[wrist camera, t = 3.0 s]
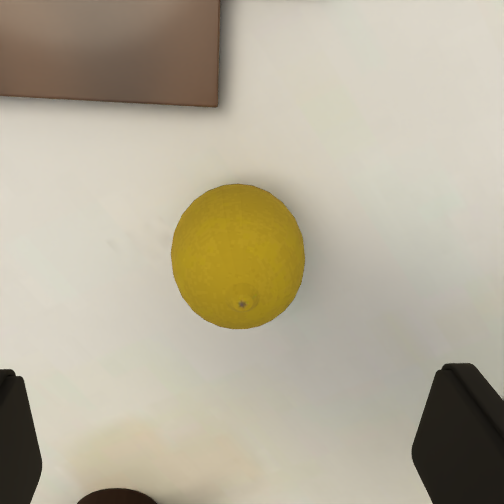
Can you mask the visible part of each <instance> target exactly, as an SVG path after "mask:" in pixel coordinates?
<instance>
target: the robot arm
mask: <svg viewBox="0 0 504 504" xmlns="http://www.w3.org/2000/svg"><path fill="white" fill-rule="evenodd" d="M412 459H413V463H414V465H415V467H416V469H417V471H418V474H419V476H420V478H421V480H422V482H423V484H424V486H425V488H426V490H427V492H428V494H429V496H430V499H431V501H432V503H433V504H504V401H503V400H502V399H501V397H500V396H499V395H498V394H497V393H496V391H495V390H494V389H493V388H492V386H491V385H490V384H489V383H488V381H487V380H486V379H485V378H484V376H483V375H482V374H481V373H480V372H479V370H478V369H477V368H476V367H475V366H474V365H473V364H470V363H449V364H445V365H444V366H443V367H442V369H441V370H438V371H437V372H436V374H435V377H434V380H433V383H432V386H431V389H430V393H429V396H428V399H427V402H426V405H425V408H424V411H423V414H422V417H421V421H420V424H419V427H418V430H417V433H416V436H415V439H414V442H413V445H412ZM41 471H42V458H41V454H40V449H39V445H38V441H37V436H36V432H35V427H34V423H33V419H32V414H31V410H30V405H29V401H28V396H27V392H26V388H25V383H24V380H23V378H22V377H21V376H16V375H15V372H14V371H13V370H11V369H0V504H30V503H31V500H32V497H33V495H34V492H35V490H36V487H37V485H38V482H39V479H40V476H41Z"/></svg>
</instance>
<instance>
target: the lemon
mask: <svg viewBox="0 0 504 504" xmlns="http://www.w3.org/2000/svg"><path fill="white" fill-rule="evenodd" d="M171 259H172V268H173V275H174V278H175V281H176V283H177V286H178V288H179V291H180V293H181V295H182V297H183V298H184V300H185V301H186V302H187V303H188V305H189V306H190V307H191V309H192V310H193V311H194V312H195V313H197V314H198V315H199V316H201V317H202V318H203V319H205V320H206V321H208V322H211V323H213V324H215V325H217V326H220V327H224V328H230V329H248V328H253V327H258V326H261V325H263V324H265V323H267V322H269V321H272V320H273V319H274V318H275V317H277V316H278V315H279V314H281V313H282V312H283V311H285V309H286V308H287V307H288V306H289V304H290V303H291V302H292V301H293V299H294V298H295V296H296V293H297V291H298V289H299V287H300V285H301V282H302V277H303V271H304V265H305V253H304V244H303V237H302V234H301V232H300V229H299V227H298V225H297V222H296V220H295V218H294V216H293V215H292V214H291V213H290V211H289V210H288V209H287V208H286V206H285V205H284V204H283V203H282V202H281V201H280V200H278V199H277V198H276V197H274V196H273V195H272V194H270V193H269V192H267V191H265V190H262V189H260V188H257V187H255V186H251V185H243V184H231V185H223V186H220V187H217V188H214V189H212V190H209V191H207V192H206V193H204V194H203V195H201V196H200V197H198V198H197V199H196V200H194V202H193V203H192V204H191V205H190V206H189V207H188V208H187V210H186V211H185V212H184V213H183V215H182V216H181V219H180V221H179V223H178V225H177V227H176V229H175V232H174V236H173V242H172V249H171Z"/></svg>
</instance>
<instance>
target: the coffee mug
mask: <svg viewBox="0 0 504 504" xmlns="http://www.w3.org/2000/svg"><path fill="white" fill-rule="evenodd" d="M77 504H157V503H156V502H155V501H154V500H153V499H151V498H150V497H148V496H146V495H145V494H142V493H140V492H137V491H133V490H128V489H118V488H117V489H105V490H100V491H97V492H94V493H91V494H89V495H87V496H85V497H84V498H82V499H81V500H80V501H79V502H78V503H77Z"/></svg>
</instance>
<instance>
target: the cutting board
mask: <svg viewBox="0 0 504 504" xmlns="http://www.w3.org/2000/svg"><path fill="white" fill-rule="evenodd" d="M220 2H221V0H0V96H10V97H29V98H47V99H66V100H85V101H103V102H122V103H140V104H159V105H177V106H196V107H215V108H216V107H217V106H218V81H219V42H220Z"/></svg>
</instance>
